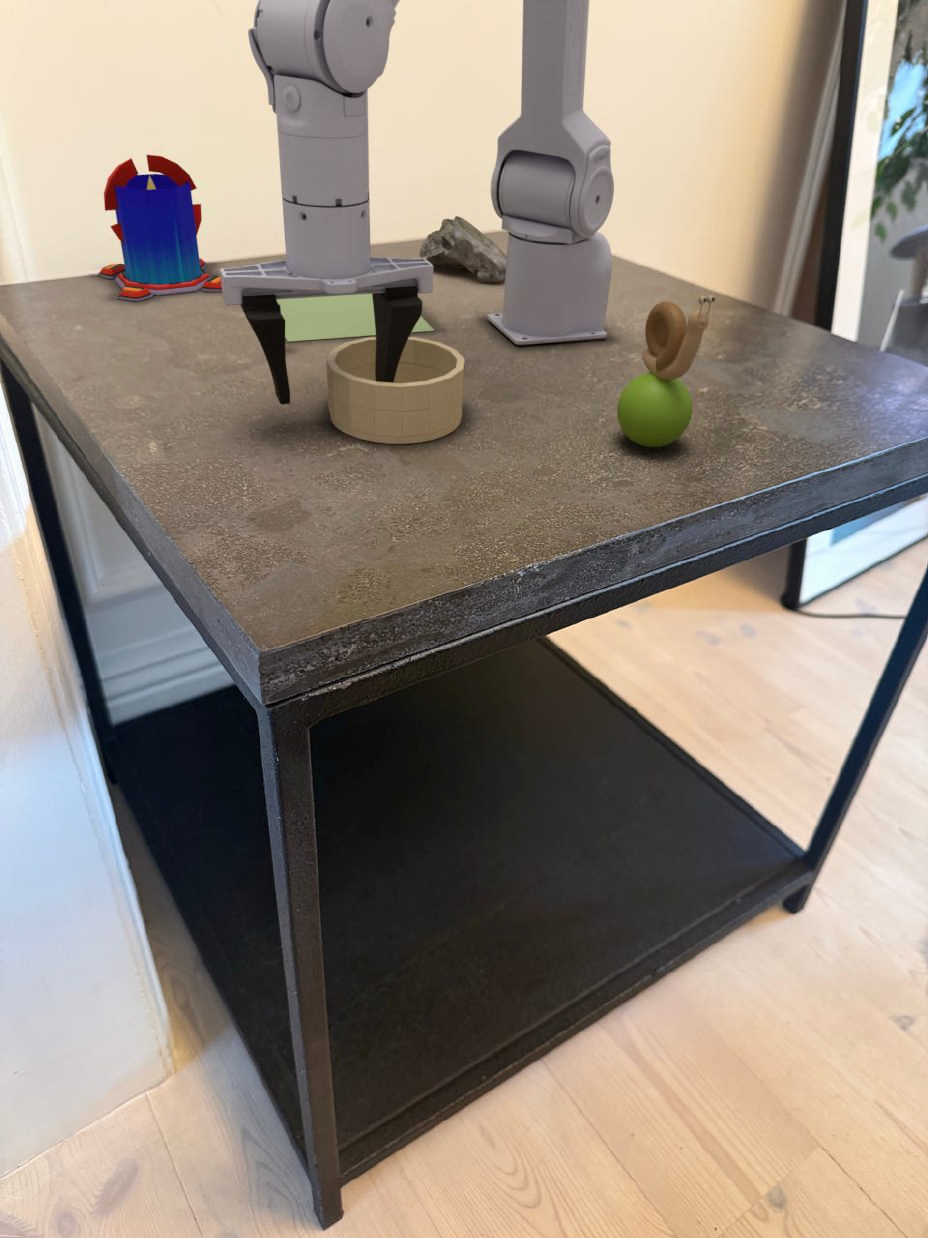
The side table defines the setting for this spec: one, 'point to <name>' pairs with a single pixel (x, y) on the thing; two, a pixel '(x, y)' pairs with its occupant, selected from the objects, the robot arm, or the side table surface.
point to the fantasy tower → (156, 231)
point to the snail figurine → (663, 376)
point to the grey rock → (465, 250)
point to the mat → (332, 317)
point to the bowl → (396, 392)
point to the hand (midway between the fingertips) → (334, 394)
